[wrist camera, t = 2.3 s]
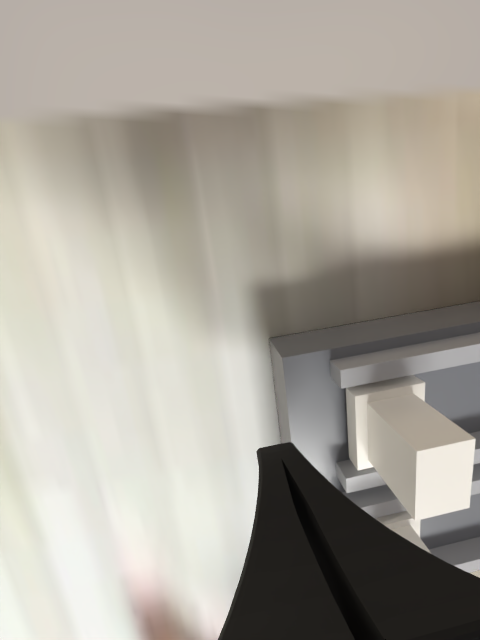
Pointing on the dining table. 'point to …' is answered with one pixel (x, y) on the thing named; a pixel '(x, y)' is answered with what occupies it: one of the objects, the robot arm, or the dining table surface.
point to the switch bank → (372, 366)
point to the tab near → (410, 446)
